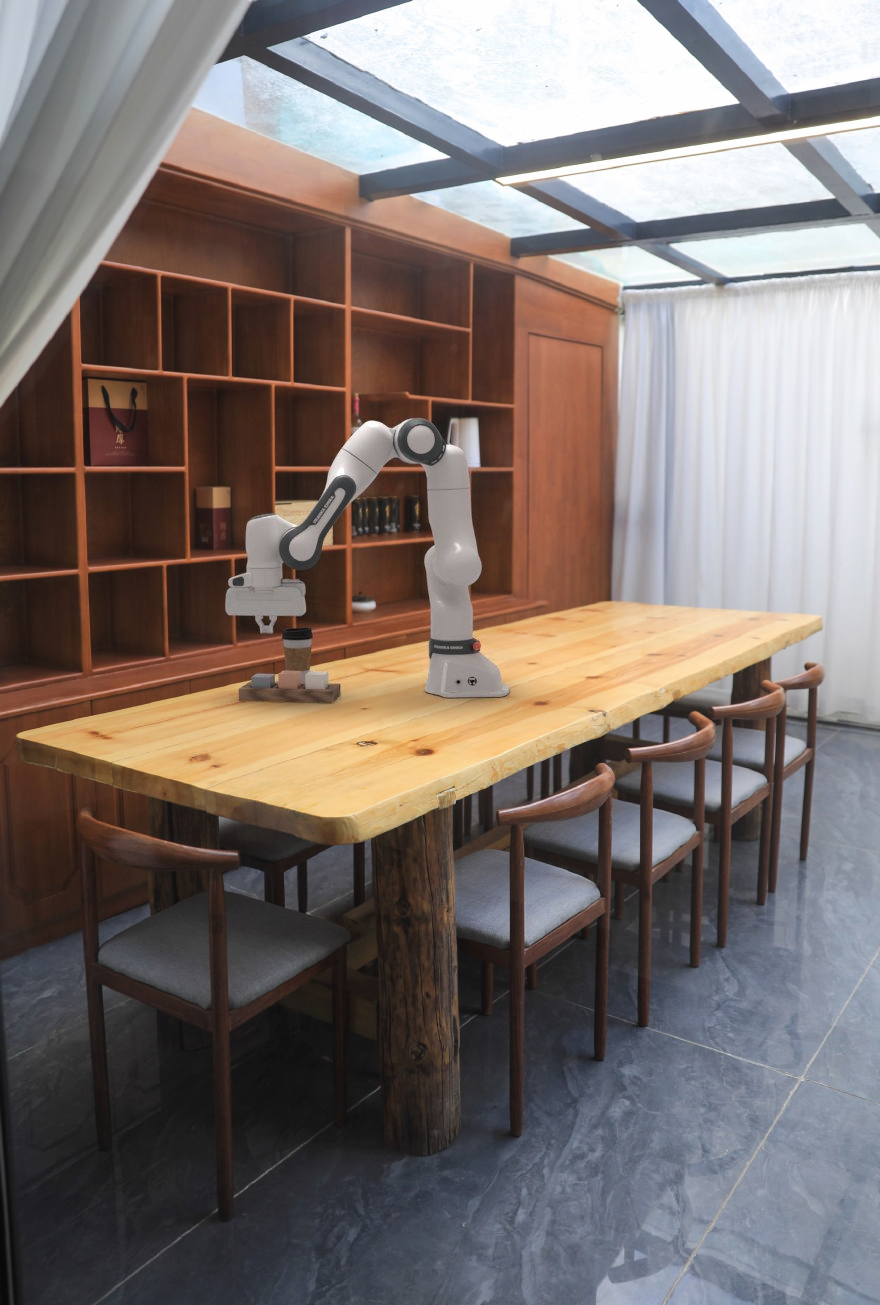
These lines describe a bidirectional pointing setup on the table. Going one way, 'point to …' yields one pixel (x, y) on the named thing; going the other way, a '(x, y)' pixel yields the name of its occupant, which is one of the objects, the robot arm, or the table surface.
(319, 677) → the ivory key
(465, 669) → the robot arm
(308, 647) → the coffee cup
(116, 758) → the table surface
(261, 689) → the tray
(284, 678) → the terracotta key
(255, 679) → the slate key
